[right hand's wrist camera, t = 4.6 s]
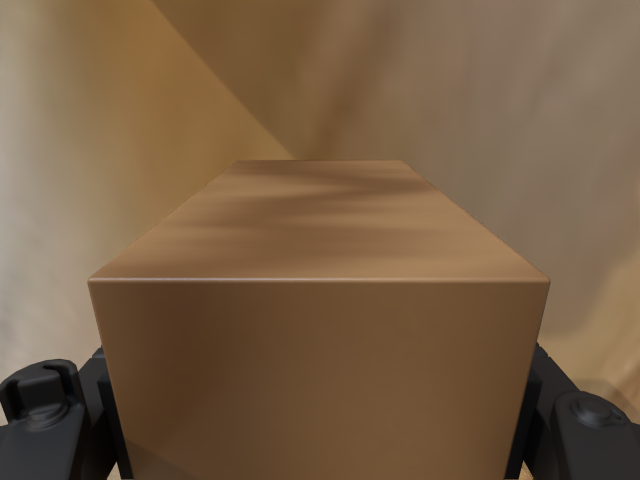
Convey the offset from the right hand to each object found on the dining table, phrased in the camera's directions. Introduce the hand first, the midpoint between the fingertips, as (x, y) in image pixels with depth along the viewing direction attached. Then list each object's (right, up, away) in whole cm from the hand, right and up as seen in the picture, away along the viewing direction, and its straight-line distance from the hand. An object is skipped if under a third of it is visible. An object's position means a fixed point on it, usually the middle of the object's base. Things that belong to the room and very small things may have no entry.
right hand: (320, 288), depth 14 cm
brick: (0, +2, +4) cm, 5 cm away
